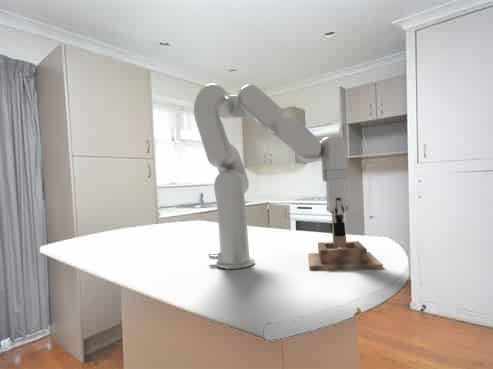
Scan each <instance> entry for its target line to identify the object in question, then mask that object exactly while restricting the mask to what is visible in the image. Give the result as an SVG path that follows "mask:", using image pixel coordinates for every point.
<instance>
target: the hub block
mask: <svg viewBox="0 0 493 369" xmlns="http://www.w3.org/2000/svg"><path fill="white" fill-rule="evenodd" d="M317 249H318V252H314V253H313V252H312V253H307V258H308V268H309V271H333V270H334V271H335V270H336V271H338V270H339V271H340V270H342V271H343V270H345V271H346V270H347V271H348V270H350V271H351V270H383V269H384V266H383V263H381V261H379V260H378V259H377V258H376V257H375V256H374V255H373V254H372V253H371V252H370V251H367V250H368V249H367V248H366V247H365V246H364V245H363V244H362V243H361V242H360V241H359V240H355V241H346V247H338V248H337V249H334V244H333V241H329V242H328V241H326V242H325V241H324V242H317Z"/></svg>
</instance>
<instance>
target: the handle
mask: <svg viewBox="0 0 493 369" xmlns="http://www.w3.org/2000/svg"><path fill="white" fill-rule="evenodd" d="M343 210H344V208H343ZM348 210H349V205H346V211H345V212H344V211H343V212H344V213H343V215H344V214H345V213H346V212H347V211H348ZM326 211H327V212H328V207H327V206H326ZM335 213H337V211H335ZM332 220H333V223H334V212H333V211H332V213H331V221H332ZM332 242H333V244H334V249H337V248H338V247H346V242H347V234H346V231H345V236H335V235H334V224H333V231H332Z"/></svg>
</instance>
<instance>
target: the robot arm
mask: <svg viewBox="0 0 493 369" xmlns="http://www.w3.org/2000/svg"><path fill="white" fill-rule="evenodd" d="M193 115H194V120H195V124H196V128H197V129H198V133H199V136H200V139H201V142H202V145H203V148H204V151H205V154H206V158H207V162H209V164H211V165H212V167H214V168H217V171H218V174H217V176H216V177H215V179H214V183H213V189H214V195H215V201H216V209H217V211H216V212H217V221H218V223H217V224H218V236H219V248H220V251H217V252H209V253H208V258H209V259H210V260H217V261H216V267H217V266H218V267H217V268H219V267H221V268H220V269H222V268H225V269H224V270H238V269H239V270H240V269H245V268H248V267H252V265H254V264H255V259H254V258H253V257H250V250H249V248H250V247H249V234H248V217H247V207H246V200H245V199H246V198H245V194H246V193H247V191H248V190H249V185H250V184H249V179H248V176H247V172H246V169H245V166H244V164H243V161H242V158H241V156H240V153H239V151H238V149H237V148H236V147H235V146H234V145H233V144H231V143H230V141H229V137H228V135H227V133H226V130H225V127H224V124H223V122H222V120H221V118H222V119H244V118H252V119H253V120H254V121H255V122H257V123H258V124H259V125H260V126H261V127H262V128H263V129H264V130H265V131H266V132H268V133H269V134H270V135H273V136H275V137H277V138H278V139H279V140H281V141H282V143H284V144H285V145H287V146H288V148H290V149H291V150H292V151H293V152H294V153H295V154H296V156H297V158H298V160H300V161H301V162H302V163H306V164H310V163H316V162H319V161H321V173H322V174H321V175H322V182H323V183H324V182H326V184H325V190H326V191H325V194H326V208H327V207H328V211H327V213H329V214H332V211H333V212H334V223H333V220H332V219H331V227H332V231H331V232H333V224H334V235H335V236H345V232H346V224H345V217H344V215H343V213H344V214H345V213H346V212H347V211H346V206H347V202H346V201H347V200H346V186H345V181H348V180H349V178H348V177H349V176H348V166H347V165H348V164H347V161H348V160H347V151H346V150H347V147H346V139H345V138H344V137H343V136H342V135H341V136H340V135H332V136H326V137H324V138H322V139H321V140H319V138H318V137H317V136H316V135H315V134H314V133H312V132H311V131H310V130H309V129H308V128H307V127H306V126H305V125H304V124H303V123H301V122H300V121H299V120H297V118H295V117H293V116H292V115H291V114H290V113H288V112H287V111H286V110H284V109H283V108H282V106H279V104H278V103H276V102H275V101H274V100H273V99H272V98H270V97H269V96H268V95H267V94H266V93H265V92H264V91H263V90H262V89H261V88H259V87H258V86H257V85H254V84H246V85H244V86H242V87H241V88H240V89H239V91H238V94H230V93H228V91H227V90H226V89H225V88H224V87H223V86H221V85H219V84H215V83H209V84H206V85H205V86H203V87H202V88H201V89H200V90H199V92H198V93H197V95H196V97H195V100H194V104H193ZM343 208H344V210H343ZM335 211H337V213H335ZM343 211H344V212H343ZM345 211H346V212H345Z"/></svg>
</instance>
